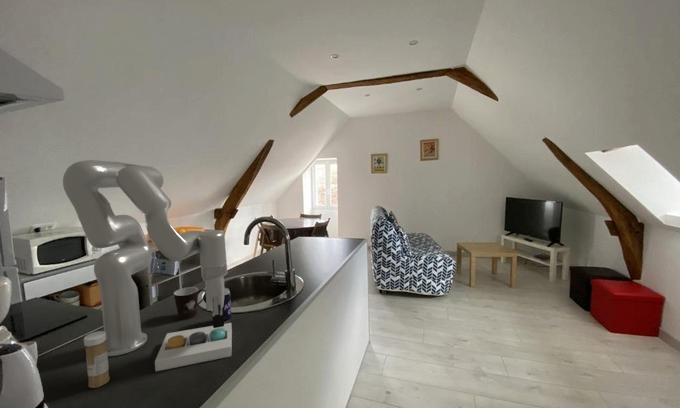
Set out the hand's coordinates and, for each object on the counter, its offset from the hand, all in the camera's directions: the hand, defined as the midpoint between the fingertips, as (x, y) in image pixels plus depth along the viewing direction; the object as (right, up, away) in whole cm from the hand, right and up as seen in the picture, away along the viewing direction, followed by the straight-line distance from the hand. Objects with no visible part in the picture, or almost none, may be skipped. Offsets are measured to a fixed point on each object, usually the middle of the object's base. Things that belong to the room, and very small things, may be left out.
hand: (218, 326), depth 96 cm
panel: (-6, -7, -1) cm, 9 cm away
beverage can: (-5, -5, +17) cm, 18 cm away
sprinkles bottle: (-25, -9, -16) cm, 31 cm away
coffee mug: (-20, -5, +22) cm, 30 cm away
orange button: (-12, -5, -4) cm, 13 cm away
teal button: (0, -4, 0) cm, 4 cm away
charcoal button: (-6, -5, -2) cm, 8 cm away
